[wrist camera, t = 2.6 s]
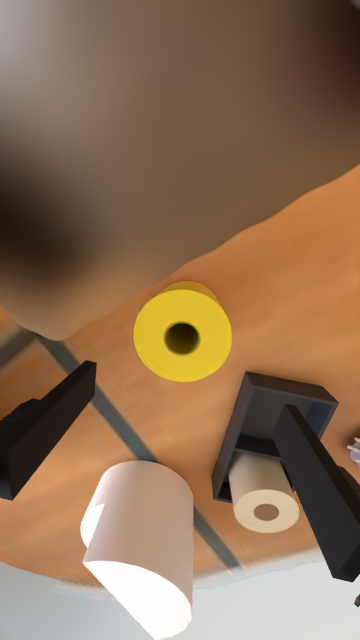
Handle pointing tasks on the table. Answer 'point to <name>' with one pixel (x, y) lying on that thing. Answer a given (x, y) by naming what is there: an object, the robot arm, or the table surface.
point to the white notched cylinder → (143, 543)
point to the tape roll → (183, 333)
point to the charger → (355, 451)
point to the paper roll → (261, 493)
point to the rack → (267, 421)
